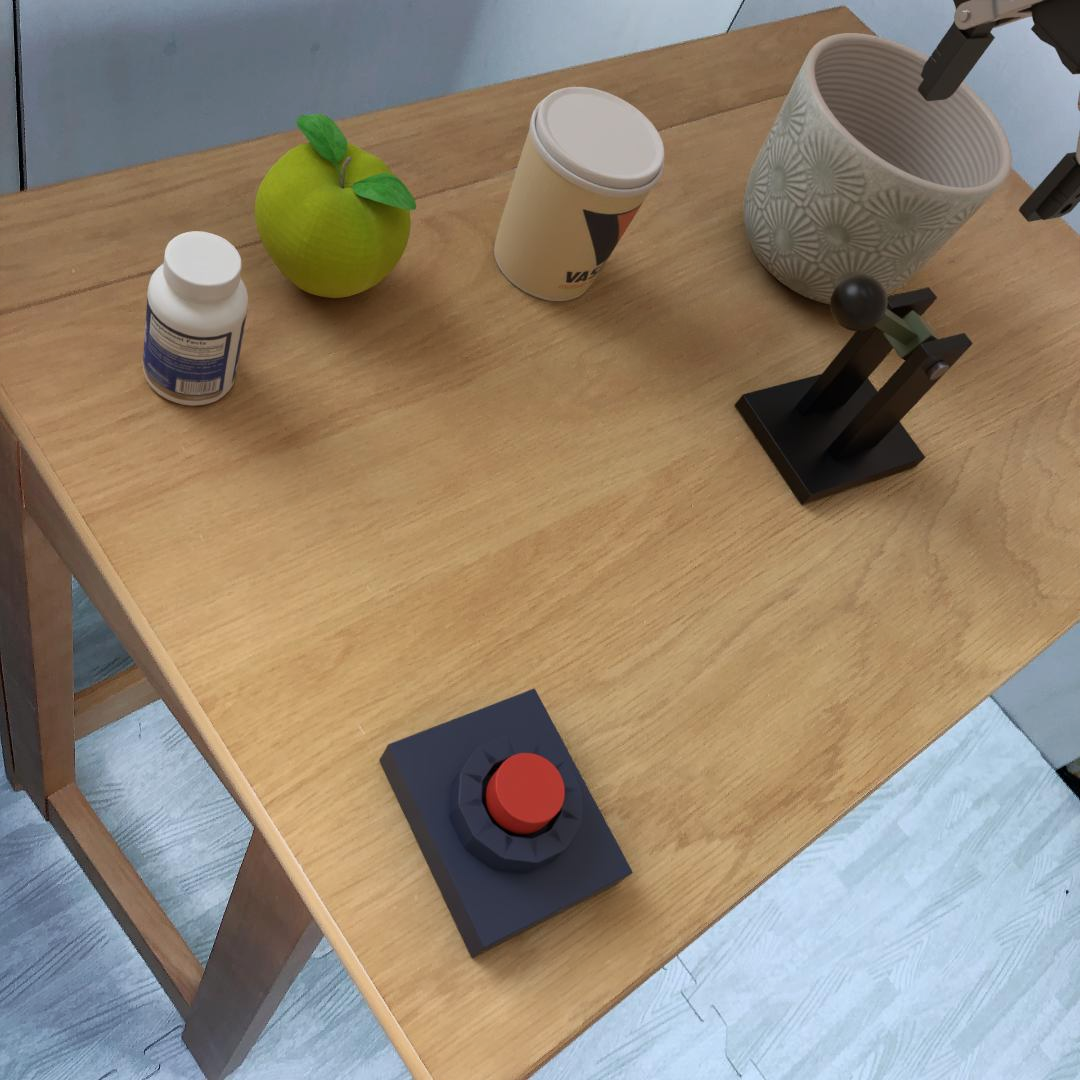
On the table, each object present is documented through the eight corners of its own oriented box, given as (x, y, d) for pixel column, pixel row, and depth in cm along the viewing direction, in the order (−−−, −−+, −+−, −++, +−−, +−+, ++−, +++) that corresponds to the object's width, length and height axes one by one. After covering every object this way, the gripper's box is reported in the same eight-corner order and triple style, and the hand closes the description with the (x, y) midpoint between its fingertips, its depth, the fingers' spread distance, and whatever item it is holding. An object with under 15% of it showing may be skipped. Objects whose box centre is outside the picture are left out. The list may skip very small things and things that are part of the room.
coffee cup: (561, 331, 82) (626, 204, 72) (457, 253, 82) (508, 117, 73) (624, 270, 87) (692, 144, 78) (526, 198, 88) (581, 64, 78)
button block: (617, 884, 61) (647, 861, 58) (471, 958, 56) (495, 938, 53) (522, 704, 65) (545, 673, 62) (378, 760, 60) (395, 730, 57)
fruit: (321, 205, 80) (349, 86, 72) (414, 293, 79) (453, 181, 71) (217, 254, 75) (235, 131, 67) (315, 348, 73) (345, 234, 66)
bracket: (801, 505, 80) (907, 391, 70) (734, 405, 83) (825, 281, 73) (916, 467, 86) (1028, 356, 76) (849, 374, 89) (948, 256, 79)
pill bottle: (178, 324, 71) (190, 205, 63) (252, 370, 71) (274, 257, 63) (122, 376, 68) (128, 257, 60) (200, 424, 68) (216, 311, 60)
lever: (842, 336, 66) (888, 299, 64) (811, 295, 67) (856, 257, 65) (912, 375, 77) (953, 344, 76) (886, 339, 78) (925, 308, 77)
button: (565, 818, 58) (578, 806, 57) (505, 846, 56) (516, 834, 55) (532, 755, 59) (544, 742, 58) (473, 780, 58) (483, 767, 56)
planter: (684, 179, 96) (773, 18, 84) (848, 192, 103) (951, 44, 91) (756, 337, 88) (864, 185, 76) (927, 339, 95) (1051, 200, 83)
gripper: (1070, -283, 46) (851, 63, 59) (1320, -54, 41) (1021, 269, 54) (1173, -266, 50) (946, 56, 62) (1414, -54, 45) (1114, 248, 58)
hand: (981, 154), depth 58 cm, fingers open, 8 cm apart
